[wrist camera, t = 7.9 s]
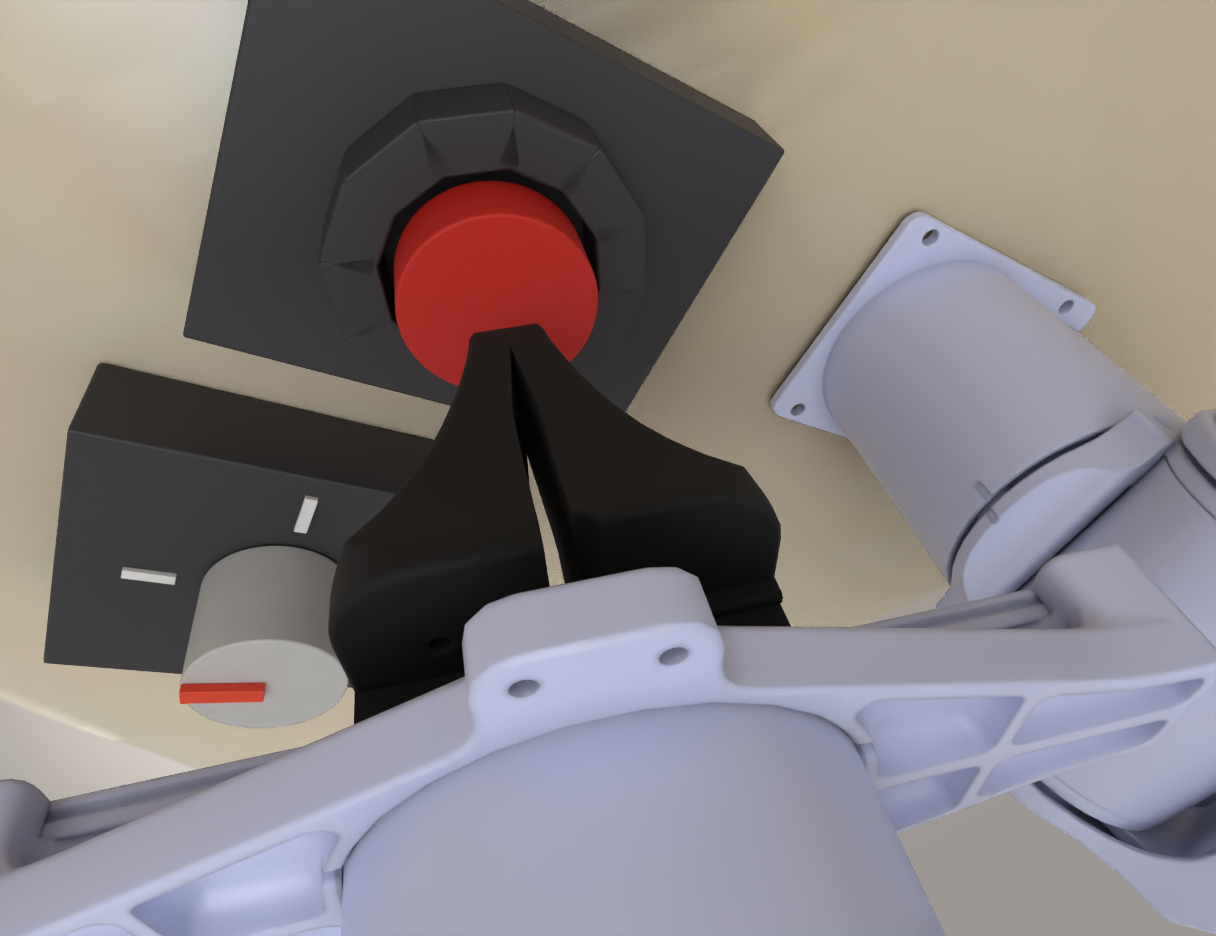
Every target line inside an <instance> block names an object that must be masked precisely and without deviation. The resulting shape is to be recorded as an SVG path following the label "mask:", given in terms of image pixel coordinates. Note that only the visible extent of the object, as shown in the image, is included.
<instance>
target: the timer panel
mask: <svg viewBox="0 0 1216 936" xmlns="http://www.w3.org/2000/svg"><path fill="white" fill-rule="evenodd" d="M432 443H433V441H432V440H427V439H423V438H419V437H415V436H410V435H406V434H402V433H397V432H393V431H389V430H385V429H380V428H376V427H372V426H368V425H363V424H359V423H355V422H350V421H346V420H342V419H338V418H333V417H329V416H325V415H320V414H316V413H312V412H308V411H303V410H299V409H295V408H291V407H286V406H282V405H278V404H273V403H269V402H265V401H261V400H256V399H252V398H248V397H244V396H239V395H235V394H231V393H226V392H222V391H218V390H214V389H209V388H205V387H201V386H197V385H192V384H188V383H184V382H179V381H175V380H171V379H167V378H162V377H158V376H154V375H149V374H145V373H141V372H137V371H132V370H128V369H124V368H120V367H115V366H111V365H107V364H99V365H98V366H97V368H96V370H95V372H94V375H93V377H92V379H91V381H90V383H89V385H88V388H87V390H86V392H85V394H84V396H83V398H82V401H81V403H80V405H79V407H78V409H77V411H76V414H75V416H74V418H73V420H72V422H71V424H70V426H69V429H68V434H67V443H66V453H65V462H64V471H63V481H62V490H61V500H60V509H59V519H58V528H57V538H56V547H55V556H54V566H53V575H52V585H51V594H50V604H49V613H48V623H47V632H46V641H45V651H44V662H45V663H50V664H63V665H75V666H88V667H100V668H113V669H125V670H138V671H150V672H163V673H175V674H182V671H183V666H184V662H185V657H186V653H187V648H188V643H189V639H190V634H191V629H192V625H193V620H194V615H195V611H196V606H197V601H198V597H199V592H200V588H201V584H202V581H203V579H204V577H205V575H206V573H207V572H208V571H209V570H210V569H211V568H212V567H213V566H214V565H215V564H216V563H217V562H219V561H220V560H222V559H223V558H225V557H227V556H229V555H231V554H233V553H236V552H239V551H241V550H245V549H249V548H254V547H260V546H291V547H297V548H302V549H306V550H310V551H313V552H315V553H318V554H320V555H322V556H325V557H327V558H328V559H330V560H331V561H333V562H334V563H335V564H337V563H338V560H339V556H340V553H341V550H342V547H343V544H344V542H345V541H346V540H347V539H348V538H350V537H351V536H352V535H354V534H355V533H356V532H357V531H358V530H359V529H360V528H362V527H363V526H364V525H365V524H366V523H367V522H369V521H370V520H371V519H372V518H373V517H374V516H376V515H377V514H378V513H379V512H380V511H381V510H382V509H383V508H384V507H385V506H386V504H387V503H388V502H389V501H390V500H391V499H392V498H393V497H394V495H395V494H396V493H397V492H398V491H399V490H400V489H401V488H402V486H403V485H404V484H405V483H406V481H407V480H408V479H409V478H410V476H411V475H412V474H413V472H414V471H415V469H416V468H417V466H418V465H419V463H420V462H421V461H422V459H423V458H424V456H425V455H426V453H427V451H428V450H429V448H430V446H431V445H432ZM347 687H351V688H353V687H352V685H351V684H350V682H349V680H348V686H347Z"/></svg>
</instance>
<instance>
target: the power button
mask: <svg viewBox="0 0 1216 936" xmlns="http://www.w3.org/2000/svg"><path fill="white" fill-rule="evenodd" d="M394 288H395V314H396V320H397V325H398V328H399V331H400V333H401V336H402V338H403V340H404V342H405V344H406V346H407V347H408V349H409V350H410V352H411V353H412V354H413V356H414V357H415V358H416V359H417V360H418V361H419V362H420V363H421V364H422V365H423V366H424V367H425V368H427V369H428V370H429V371H430V372H431V373H433V374H435V375H436V376H438V377H439V378H441V379H443V380H445V381H447V382H449V383H451V384H454V385H457V386H459V383H460V380H461V377H462V374H463V371H464V367H465V363H466V359H467V354H468V347H469V338H470V337H471V336H472V335H473V333H477V332H483V331H490V330H496V329H503V328H509V327H516V326H522V325H529V324H535V323H537V324H538V325H540V326H541V327H543V329H544V331H545V332H546V334H547V335H548V336H549V338H550V339H551V341H552V342H553V343H554V344H555V346H556V347H557V348H558V349H559V351H560V352H561V353H562V354H563V355H564V356H565V358H566V359H567V360H568V361H569V362H571V361H572V360H573V359H574V358H575V357H576V355H577V354H578V353H579V352H580V351H581V349H582V348H583V346H584V345H585V343H586V341H587V340H588V338H589V336H590V333H591V331H592V329H593V326H594V323H595V320H596V316H597V309H598V289H597V283H596V279H595V276H594V272H593V270H592V267H591V265H590V262H589V260H588V258H587V255H586V253H585V250H584V248H583V245H582V243H581V241H580V238H579V236H578V234H577V232H576V229H575V228H574V226H573V224H572V223H571V221H570V220H569V218H568V217H567V216H566V215H565V213H564V212H563V211H562V210H561V209H560V208H559V207H558V206H557V205H556V204H554V203H553V202H552V201H551V200H549V199H548V198H546V197H545V196H543V195H542V194H540V193H538V192H536V191H534V190H532V189H530V188H527V187H524V186H521V185H519V184H515V183H509V182H504V181H476V182H471V183H466V184H462V185H459V186H456V187H453V188H450V189H448V190H446V191H444V192H442V193H440V194H438V195H437V196H435V197H434V198H432V199H431V200H429V201H428V202H427V203H426V204H424V205H423V206H422V207H421V208H420V209H419V210H418V211H417V212H416V213H415V214H414V216H413V217H412V218H411V219H410V220H409V222H408V224H407V225H406V227H405V228H404V230H403V232H402V234H401V237H400V239H399V241H398V245H397V248H396V252H395V259H394Z"/></svg>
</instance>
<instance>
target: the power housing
mask: <svg viewBox="0 0 1216 936" xmlns="http://www.w3.org/2000/svg"><path fill="white" fill-rule="evenodd" d="M783 154H784V149H783V148H782V147H781V146H780V145H779V144H778V143H776V142H775V141H774V140H773V139H772V138H771V137H770V136H769V135H768V134H767V133H766V132H765V131H764V130H763V129H762V128H761V127H760V126H759V125H758V124H757V123H756V122H755V121H754V120H752V119H750V118H748V117H746V116H744V115H742V114H741V113H739V112H737V111H735V110H733V109H731V108H729V107H727V106H725V105H724V104H722V103H720V102H718V101H716V100H714V99H712V98H710V97H709V96H707V95H705V94H703V93H701V92H699V91H697V90H695V89H694V88H692V87H690V86H688V85H686V84H684V83H682V82H680V81H679V80H677V79H675V78H673V77H671V76H669V75H667V74H665V73H664V72H662V71H660V70H658V69H656V68H654V67H652V66H650V65H648V64H647V63H645V62H643V61H641V60H639V59H637V58H635V57H633V56H632V55H630V54H628V53H626V52H624V51H622V50H620V49H618V48H617V47H615V46H613V45H611V44H609V43H607V42H605V41H603V40H602V39H600V38H598V37H596V36H594V35H592V34H590V33H588V32H587V31H585V30H583V29H581V28H579V27H577V26H575V25H573V24H571V23H570V22H568V21H566V20H564V19H562V18H560V17H558V16H556V15H555V14H553V13H551V12H549V11H547V10H545V9H543V8H541V7H540V6H538V5H536V4H534V3H532V2H530V1H528V0H248V5H247V10H246V15H245V20H244V26H243V31H242V36H241V41H240V46H239V51H238V56H237V61H236V66H235V72H234V77H233V82H232V87H231V92H230V97H229V102H228V107H227V112H226V118H225V123H224V128H223V133H222V138H221V143H220V148H219V153H218V158H217V164H216V169H215V174H214V179H213V184H212V189H211V194H210V199H209V205H208V210H207V215H206V220H205V225H204V230H203V235H202V240H201V245H200V251H199V256H198V261H197V266H196V271H195V276H194V281H193V286H192V291H191V297H190V302H189V307H188V312H187V317H186V322H185V327H184V332H183V335H184V337H187V338H191V339H195V340H198V341H202V342H206V343H210V344H214V345H218V346H222V347H226V348H229V349H233V350H237V351H241V352H245V353H249V354H253V355H257V356H260V357H264V358H268V359H272V360H276V361H280V362H284V363H288V364H291V365H295V366H299V367H303V368H307V369H311V370H315V371H319V372H322V373H326V374H330V375H334V376H338V377H342V378H346V379H349V380H353V381H357V382H361V383H365V384H369V385H373V386H377V387H380V388H384V389H388V390H392V391H396V392H400V393H404V394H408V395H411V396H415V397H419V398H423V399H427V400H431V401H435V402H439V403H442V404H446V405H450V406H451V404H452V402H453V400H454V397H455V395H456V392H457V389H458V386H457V385H454V384H451V383H449V382H447V381H445V380H443V379H441V378H439V377H438V376H436V375H435V374H433V373H431V372H430V371H429V370H428V369H427V368H425V367H424V366H423V365H422V364H421V363H420V362H419V361H418V360H417V359H416V358H415V357H414V356H413V354H412V353H411V352H410V350H409V349H408V347H407V346H406V344H405V342H404V340H403V338H402V336H401V333H400V331H399V328H398V325H397V320H396V314H395V288H394V259H395V252H396V248H397V245H398V241H399V239H400V237H401V234H402V232H403V230H404V228H405V227H406V225H407V224H408V222H409V220H410V219H411V218H412V217H413V216H414V214H415V213H416V212H417V211H418V210H419V209H420V208H421V207H422V206H423V205H424V204H426V203H427V202H428V201H429V200H431V199H432V198H434V197H435V196H437V195H438V194H440V193H442V192H444V191H446V190H448V189H450V188H453V187H456V186H459V185H462V184H466V183H471V182H476V181H504V182H509V183H515V184H519V185H521V186H524V187H527V188H530V189H532V190H534V191H536V192H538V193H540V194H542V195H543V196H545V197H546V198H548V199H549V200H551V201H552V202H553V203H554V204H556V205H557V206H558V207H559V208H560V209H561V210H562V211H563V212H564V213H565V215H566V216H567V217H568V218H569V220H570V221H571V223H572V224H573V226H574V228H575V229H576V232H577V234H578V236H579V238H580V241H581V243H582V245H583V248H584V250H585V253H586V255H587V258H588V260H589V262H590V265H591V267H592V270H593V272H594V276H595V279H596V283H597V289H598V309H597V316H596V320H595V323H594V326H593V329H592V331H591V333H590V336H589V338H588V340H587V341H586V343H585V345H584V346H583V348H582V349H581V351H580V352H579V353H578V354H577V355H576V357H575V358H574V359H573V360H572V361H571V362H570V363H571V364H572V365H573V366H574V367H575V368H576V369H577V370H578V371H579V373H580V374H581V375H582V376H583V377H584V378H585V379H586V380H587V381H588V382H590V383H591V384H592V385H593V386H594V387H595V388H596V389H597V390H598V391H599V392H601V393H602V394H603V395H604V396H605V397H606V398H607V399H609V400H610V401H611V402H612V403H614V404H615V405H616V406H617V407H619V408H620V409H621V410H623V411H624V412H625V411H626V410H627V408H628V407H629V405H630V403H631V402H632V400H633V398H634V397H635V395H636V394H637V392H638V390H639V389H640V387H641V385H642V384H643V382H644V380H645V379H646V377H647V376H648V374H649V372H650V371H651V369H652V367H653V366H654V364H655V363H656V361H657V359H658V358H659V356H660V354H661V353H662V351H663V350H664V348H665V346H666V345H667V343H668V341H669V340H670V338H671V336H672V335H673V333H674V332H675V330H676V328H677V327H678V325H679V323H680V322H681V320H682V319H683V317H684V315H685V314H686V312H687V310H688V309H689V307H690V306H691V304H692V302H693V301H694V299H695V297H696V296H697V294H698V292H699V291H700V289H701V288H702V286H703V284H704V283H705V281H706V279H707V278H708V276H709V275H710V273H711V271H712V270H713V268H714V266H715V265H716V263H717V262H718V260H719V258H720V257H721V255H722V253H723V252H724V250H725V248H726V247H727V245H728V244H729V242H730V240H731V239H732V237H733V235H734V234H735V232H736V231H737V229H738V227H739V226H740V224H741V222H742V221H743V219H744V218H745V216H746V214H747V213H748V211H749V209H750V208H751V206H752V204H753V203H754V201H755V200H756V198H757V196H758V195H759V193H760V191H761V190H762V188H763V187H764V185H765V183H766V182H767V180H768V178H769V177H770V175H771V173H772V172H773V170H774V169H775V167H776V165H777V164H778V162H779V160H780V159H781V157H782V156H783Z"/></svg>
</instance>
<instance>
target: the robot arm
mask: <svg viewBox="0 0 1216 936" xmlns="http://www.w3.org/2000/svg"><path fill="white" fill-rule="evenodd" d="M930 230H932V232H931V234H930V235H929V236H928V237H927V238H926V239H923V237H924V235H925V234H926V233H927V232H928V231H930ZM922 239H923V240H922ZM1063 303H1064V304H1063ZM1062 304H1063V305H1062ZM1095 311H1096V306H1095V305H1094V304H1093V303H1092V302H1091V301H1089V300H1088V299H1086V298H1085V297H1083V296H1081V295H1079V294H1077V293H1075V292H1073V291H1071V290H1070V289H1068V288H1066V287H1064V286H1062V285H1060V284H1058V283H1056V282H1055V281H1053V280H1051V279H1049V278H1047V277H1045V276H1043V275H1041V274H1039V273H1038V272H1036V271H1034V270H1032V269H1030V268H1028V267H1026V266H1024V265H1023V264H1021V263H1019V262H1017V261H1015V260H1013V259H1011V258H1009V257H1007V256H1006V255H1004V254H1002V253H1000V252H998V251H996V250H994V249H992V248H991V247H989V246H987V245H985V244H983V243H981V242H979V241H977V240H976V239H974V238H972V237H970V236H968V235H966V234H964V233H962V232H960V231H959V230H957V229H955V228H953V227H951V226H949V225H947V224H945V223H944V222H942V221H940V220H938V219H936V218H934V217H932V216H930V215H928V214H927V213H925V212H920V211H919V212H914V213H912V214H910V215H908V216H907V217H906V218H905V219H904V220H903V221H902V223H901V224H900V225H899V227H898V228H897V229H896V231H895V232H894V233H893V235H892V236H891V237H890V239H889V240H888V242H887V243H886V244H885V246H884V247H883V248H882V250H881V251H880V252H879V254H878V255H877V256H876V258H875V259H874V261H873V262H872V263H871V265H870V266H869V267H868V269H867V270H866V271H865V273H864V274H863V275H862V277H861V278H860V279H859V281H858V282H857V284H856V285H855V286H854V288H853V289H852V290H851V292H850V293H849V294H848V296H847V297H846V298H845V300H844V301H843V302H842V304H841V305H840V307H839V308H838V309H837V311H836V312H835V313H834V315H833V316H832V317H831V319H830V320H829V321H828V323H827V324H826V326H825V327H824V328H823V330H822V331H821V332H820V334H819V335H818V336H817V338H816V339H815V340H814V342H813V343H812V344H811V346H810V347H809V349H808V350H807V351H806V353H805V354H804V355H803V357H802V358H801V359H800V361H799V362H798V363H797V365H796V366H795V368H794V369H793V370H792V372H791V373H790V374H789V376H788V377H787V378H786V380H785V381H784V382H783V384H782V385H781V386H780V388H779V389H778V391H777V392H776V393H775V395H774V396H773V397H772V399H771V401H770V406H771V408H772V410H773V411H774V413H775V414H776V415H777V416H779V417H782V418H786V419H789V420H792V421H795V422H798V423H801V424H805V425H808V426H811V427H814V428H817V429H821V430H824V431H827V432H830V433H833V434H836V435H840V436H843V437H846V438H849V440H850V441H851V443H852V444H853V445H854V447H855V448H856V450H857V451H858V453H859V454H860V456H861V457H862V459H863V460H864V461H865V463H866V464H867V466H868V467H869V469H870V470H871V472H872V473H873V475H874V476H875V478H876V479H877V480H878V482H879V483H880V485H881V486H882V488H883V489H884V491H885V492H886V494H887V495H888V496H889V498H890V499H891V501H892V502H893V504H894V505H895V507H896V508H897V510H898V511H899V512H900V514H901V515H902V517H903V518H904V520H905V521H906V523H907V524H908V526H909V527H910V528H911V530H912V531H913V533H914V534H915V536H916V537H917V539H918V540H919V542H920V543H921V545H922V546H923V547H924V549H925V550H926V552H927V553H928V555H929V556H930V558H931V559H932V561H933V562H934V563H935V565H936V566H937V568H938V569H939V571H940V572H941V574H942V575H943V577H944V578H945V579H946V581H947V582H948V584H949V585H950V586H949V589H948V590H947V592H946V593H945V595H944V596H943V597H942V599H941V600H940V601H939V602H938V603H937V605H936V608H937V609H934V610H930V611H925V612H920V613H915V614H911V615H906V616H901V617H897V618H892V619H888V620H883V621H878V622H874V623H869V624H865V625H860V626H855V627H791V626H790V623H789V621H788V619H787V617H786V615H785V613H784V611H783V609H782V607H781V604H780V603H782V599H783V597H782V592H781V590H780V588H779V586H778V584H777V582H776V580H775V578H774V575H775V570H776V564H777V558H778V552H779V546H780V540H781V526H780V523H779V521H778V518H777V516H776V514H775V512H774V509H773V507H772V506H771V504H770V502H769V500H768V499H767V497H766V496H765V494H764V493H763V492H762V490H761V489H760V487H759V486H758V485H757V483H756V482H755V481H754V479H753V478H752V477H751V475H750V474H749V473H748V472H747V470H746V469H745V468H744V467H743V466H739V465H736V464H733V463H730V462H727V461H724V460H721V459H717V458H714V457H711V456H708V455H705V454H702V453H700V452H698V451H695V450H693V449H690V448H688V447H686V446H683V445H681V444H679V443H677V442H675V441H673V440H670V439H668V438H666V437H665V436H663V435H661V434H659V433H657V432H655V431H654V430H652V429H650V428H648V427H646V426H645V425H643V424H641V423H640V422H638V421H637V420H635V419H634V418H632V417H631V416H630V415H628V414H627V413H625V412H624V411H623V410H621V409H620V408H619V407H617V406H616V405H615V404H614V403H612V402H611V401H610V400H609V399H607V398H606V397H605V396H604V395H603V394H602V393H601V392H599V391H598V390H597V389H596V388H595V387H594V386H593V385H592V384H591V383H590V382H588V381H587V380H586V379H585V378H584V377H583V376H582V375H581V374H580V373H579V371H578V370H577V369H576V368H575V367H574V366H573V365H572V364H571V363H570V362H569V361H568V360H567V359H566V358H565V356H564V355H563V354H562V353H561V352H560V351H559V349H558V348H557V347H556V346H555V344H554V343H553V342H552V341H551V339H550V338H549V336H548V335H547V334H546V332H545V331H544V329H543V327H541V326H540V325H538V324H537V323H535V324H529V325H522V326H516V327H509V328H503V329H496V330H490V331H483V332H477V333H473V335H472V336H471V337H470V338H469V347H468V354H467V359H466V363H465V367H464V371H463V374H462V377H461V380H460V383H459V386H458V389H457V392H456V395H455V397H454V400H453V402H452V404H451V407H450V409H449V411H448V413H447V416H446V418H445V420H444V422H443V425H442V427H441V429H440V430H439V432H438V434H437V436H436V438H435V440H434V441H433V443H432V445H431V446H430V448H429V450H428V451H427V453H426V455H425V456H424V458H423V459H422V461H421V462H420V463H419V465H418V466H417V468H416V469H415V471H414V472H413V474H412V475H411V476H410V478H409V479H408V480H407V481H406V483H405V484H404V485H403V486H402V488H401V489H400V490H399V491H398V492H397V493H396V494H395V495H394V497H393V498H392V499H391V500H390V501H389V502H388V503H387V504H386V506H385V507H384V508H383V509H382V510H381V511H380V512H379V513H378V514H377V515H376V516H374V517H373V518H372V519H371V520H370V521H369V522H367V523H366V524H365V525H364V526H363V527H362V528H360V529H359V530H358V531H357V532H356V533H355V534H354V535H352V536H351V537H350V538H348V539H347V540H346V541H345V542H344V544H343V547H342V550H341V553H340V556H339V560H338V563H337V567H336V571H335V575H334V579H333V584H332V589H331V594H330V603H329V621H328V634H329V638H330V642H331V646H332V648H333V650H334V652H335V654H336V656H337V658H338V660H339V662H340V664H341V666H342V668H343V670H344V672H345V674H346V676H347V678H348V680H349V682H350V684H351V685H352V687H353V689H354V691H355V705H354V725H352V726H350V727H347V728H345V729H343V730H340V731H338V732H336V733H333V734H331V735H329V736H327V737H324V738H322V739H320V740H317V741H315V742H313V743H310V744H308V745H306V746H303V747H298V748H294V749H289V750H285V751H280V752H275V753H271V754H266V755H261V756H257V757H252V758H248V759H243V760H238V761H234V762H229V763H225V764H220V765H215V766H211V767H206V768H202V769H197V770H192V771H188V772H183V773H179V774H174V775H170V776H165V777H160V778H156V779H151V780H146V781H142V782H137V783H133V784H129V785H123V786H119V787H114V788H110V789H105V790H100V791H96V792H91V793H87V794H82V795H77V796H73V797H68V798H64V799H59V800H54V801H49V799H48V798H47V797H46V796H45V795H44V794H43V793H42V792H41V791H40V790H39V789H38V788H36V787H35V786H34V785H32V784H30V783H28V782H25V781H21V780H14V779H7V780H0V936H946V935H945V933H944V931H943V928H942V927H941V924H940V922H939V920H938V918H937V916H936V914H935V912H934V910H933V908H932V906H931V904H930V901H929V899H928V898H927V895H926V893H925V891H924V889H923V887H922V885H921V883H920V881H919V879H918V877H917V874H916V873H915V870H914V868H913V866H912V864H911V862H910V860H909V858H908V856H907V854H906V852H905V850H904V847H903V845H902V843H901V841H900V839H899V837H898V835H897V834H899V833H902V832H904V831H907V830H909V829H912V828H915V827H917V826H920V825H923V824H925V823H928V822H931V821H933V820H936V819H938V818H941V817H944V816H946V815H949V814H952V813H954V812H957V811H959V810H962V809H965V808H967V807H970V806H973V805H975V804H978V803H980V802H983V801H986V800H988V799H991V798H994V797H996V796H999V795H1001V794H1004V793H1007V792H1008V793H1009V794H1010V795H1011V796H1012V797H1013V798H1014V799H1015V800H1017V801H1018V802H1019V803H1020V804H1022V805H1023V806H1024V807H1025V808H1027V809H1028V810H1029V811H1031V812H1032V813H1033V814H1035V815H1036V816H1038V817H1039V818H1041V819H1043V820H1044V821H1046V822H1048V823H1049V824H1051V825H1053V826H1055V827H1057V828H1058V829H1060V830H1062V831H1063V832H1065V833H1066V834H1068V835H1069V836H1071V837H1072V838H1074V839H1075V840H1076V841H1078V842H1079V843H1081V844H1082V845H1083V846H1085V847H1086V848H1087V849H1089V850H1090V851H1091V852H1093V853H1094V854H1095V855H1096V856H1097V857H1099V858H1100V859H1101V860H1103V861H1104V862H1105V863H1106V864H1107V865H1108V866H1110V867H1111V868H1112V869H1113V870H1114V871H1115V872H1117V874H1119V875H1120V876H1121V877H1122V878H1123V879H1124V880H1125V881H1126V882H1127V883H1128V884H1129V885H1130V886H1131V887H1132V888H1133V889H1134V890H1135V891H1136V892H1137V893H1138V894H1139V895H1140V896H1141V897H1142V898H1143V899H1144V900H1145V901H1146V902H1147V903H1148V904H1149V905H1150V906H1151V907H1152V908H1153V909H1154V910H1155V911H1156V912H1157V913H1158V914H1159V915H1160V916H1161V917H1162V918H1164V919H1166V920H1169V921H1171V922H1173V923H1175V924H1179V925H1183V926H1187V927H1191V928H1194V929H1199V930H1202V931H1206V932H1210V933H1214V934H1216V410H1214V409H1210V410H1201V411H1199V412H1197V413H1196V414H1195V415H1194V417H1192V418H1191V419H1190V420H1189V421H1188V422H1186V421H1185V420H1184V419H1183V418H1181V417H1180V416H1179V415H1178V414H1177V413H1175V412H1174V411H1173V410H1172V409H1171V408H1169V407H1168V406H1167V405H1166V404H1165V403H1163V402H1162V401H1161V400H1160V399H1158V398H1157V397H1156V396H1155V395H1154V394H1152V393H1151V392H1150V391H1149V390H1148V389H1146V388H1145V387H1144V386H1143V385H1142V384H1140V383H1139V382H1138V381H1137V380H1135V379H1134V378H1133V377H1132V376H1131V375H1129V374H1128V373H1127V372H1126V371H1125V370H1123V369H1122V368H1121V367H1120V366H1119V365H1117V364H1116V363H1115V362H1114V361H1112V360H1111V359H1110V358H1109V357H1108V356H1106V355H1105V354H1104V353H1103V352H1102V351H1100V350H1099V349H1098V348H1097V347H1095V346H1094V345H1093V344H1092V343H1091V342H1089V341H1088V340H1087V339H1086V338H1085V337H1083V336H1082V335H1081V334H1080V333H1079V331H1080V330H1081V329H1082V328H1083V327H1084V326H1085V325H1086V324H1087V323H1088V322H1089V321H1090V320H1091V318H1092V317H1093V316H1094V313H1095ZM798 404H800V405H799V406H798V407H796V408H794V409H792V408H793V407H794V406H795V405H798ZM527 456H528V459H529V462H530V465H531V468H532V471H533V474H534V477H535V480H536V484H537V487H538V490H539V493H540V496H541V499H542V502H543V505H544V508H545V511H546V514H547V517H548V520H549V523H550V526H551V529H552V532H553V536H554V539H555V543H556V546H557V550H558V554H559V558H560V563H561V568H562V572H563V577H564V582H565V584H561V585H556V586H551V587H550V586H549V580H548V573H547V567H546V560H545V553H544V548H543V542H542V538H541V533H540V528H539V523H538V519H537V515H536V511H535V507H534V503H533V499H532V495H531V492H530V486H529V474H528V463H527Z"/></svg>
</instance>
